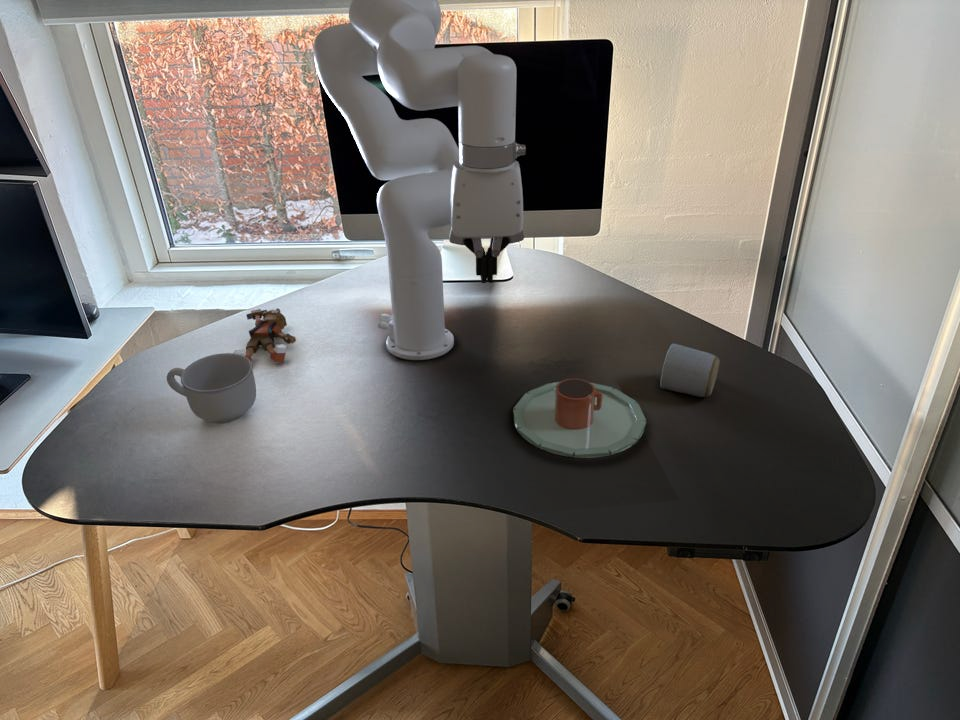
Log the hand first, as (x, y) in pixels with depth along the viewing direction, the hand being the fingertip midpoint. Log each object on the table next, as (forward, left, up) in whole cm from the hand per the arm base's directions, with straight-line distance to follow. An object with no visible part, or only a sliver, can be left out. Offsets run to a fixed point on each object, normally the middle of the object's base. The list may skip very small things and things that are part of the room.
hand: (486, 278), depth 107 cm
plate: (+15, +1, -22) cm, 27 cm away
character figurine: (-47, -1, -22) cm, 52 cm away
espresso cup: (+15, +1, -21) cm, 25 cm away
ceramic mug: (+27, +20, -22) cm, 40 cm away
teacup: (-38, -22, -22) cm, 49 cm away
